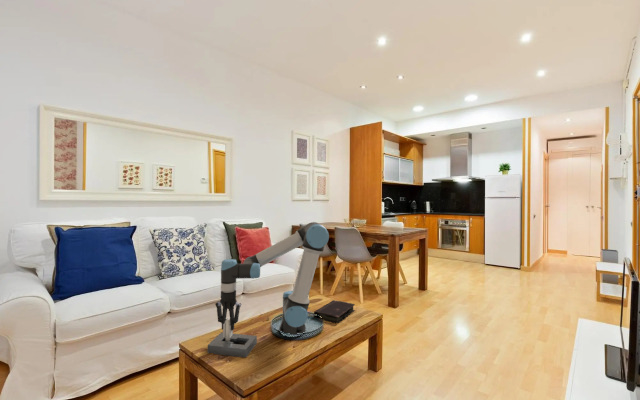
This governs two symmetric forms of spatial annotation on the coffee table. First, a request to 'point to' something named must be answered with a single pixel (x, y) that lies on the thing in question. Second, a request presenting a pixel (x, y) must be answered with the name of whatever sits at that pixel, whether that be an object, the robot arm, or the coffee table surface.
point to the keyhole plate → (232, 345)
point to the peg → (227, 330)
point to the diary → (335, 311)
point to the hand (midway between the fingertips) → (227, 335)
